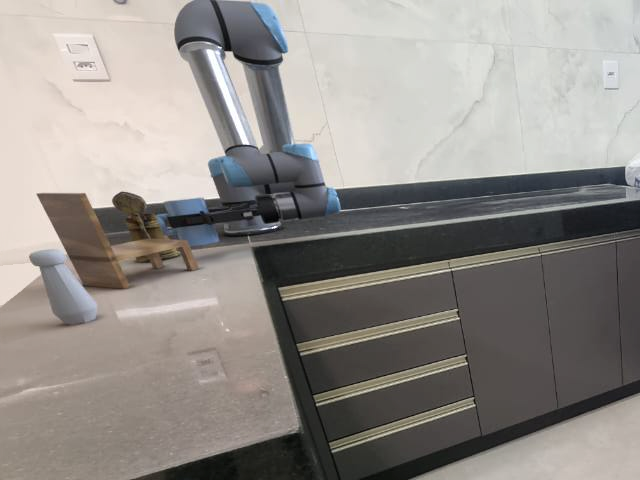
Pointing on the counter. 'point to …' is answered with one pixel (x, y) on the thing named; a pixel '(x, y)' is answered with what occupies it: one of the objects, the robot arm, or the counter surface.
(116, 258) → the wooden chair
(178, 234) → the blue cup
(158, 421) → the counter surface
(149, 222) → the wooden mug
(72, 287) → the salt shaker
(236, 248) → the counter surface
